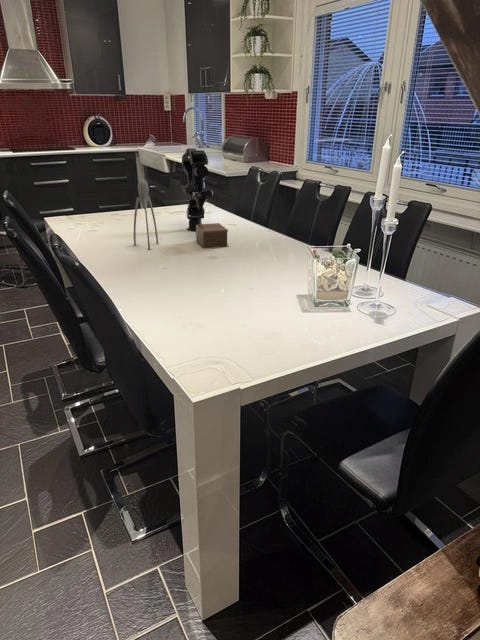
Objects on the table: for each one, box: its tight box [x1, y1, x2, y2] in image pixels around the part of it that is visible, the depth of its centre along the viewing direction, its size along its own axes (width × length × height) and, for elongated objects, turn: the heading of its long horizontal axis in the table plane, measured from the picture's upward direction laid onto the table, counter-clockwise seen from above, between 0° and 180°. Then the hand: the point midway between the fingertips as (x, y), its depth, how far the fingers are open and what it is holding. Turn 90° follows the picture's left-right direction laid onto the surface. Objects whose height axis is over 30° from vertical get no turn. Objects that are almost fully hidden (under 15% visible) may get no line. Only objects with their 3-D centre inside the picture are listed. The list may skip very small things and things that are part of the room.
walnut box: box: [195, 227, 228, 249], centre depth 223 cm, size 14×12×7 cm
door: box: [196, 222, 229, 233], centre depth 221 cm, size 14×12×1 cm
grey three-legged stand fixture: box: [133, 179, 159, 251], centre depth 213 cm, size 11×10×30 cm
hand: (200, 210), depth 232 cm, fingers closed
